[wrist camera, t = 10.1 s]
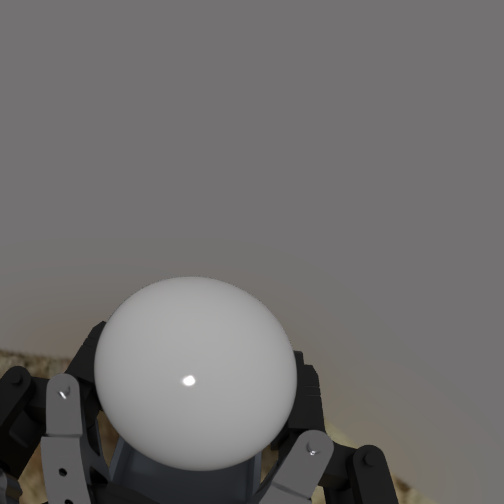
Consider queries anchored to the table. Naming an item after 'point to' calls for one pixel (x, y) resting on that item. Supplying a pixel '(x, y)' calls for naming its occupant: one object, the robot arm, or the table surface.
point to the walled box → (184, 479)
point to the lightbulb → (195, 373)
